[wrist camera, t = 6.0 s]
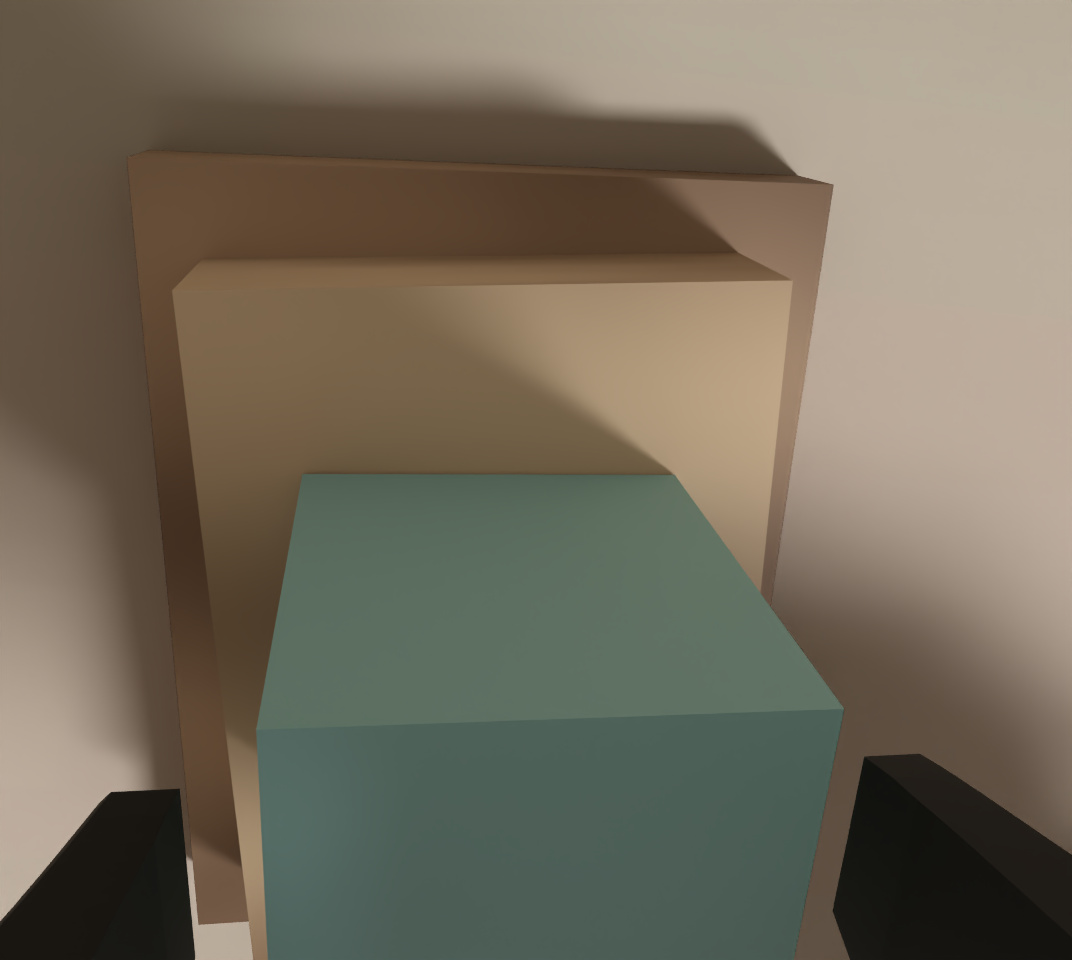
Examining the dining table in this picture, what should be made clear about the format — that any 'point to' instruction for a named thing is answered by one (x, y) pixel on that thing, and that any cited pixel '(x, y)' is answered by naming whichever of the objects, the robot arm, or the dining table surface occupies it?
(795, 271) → the bottom slab
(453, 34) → the dining table surface
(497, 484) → the teal block
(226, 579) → the top slab
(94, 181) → the dining table surface
